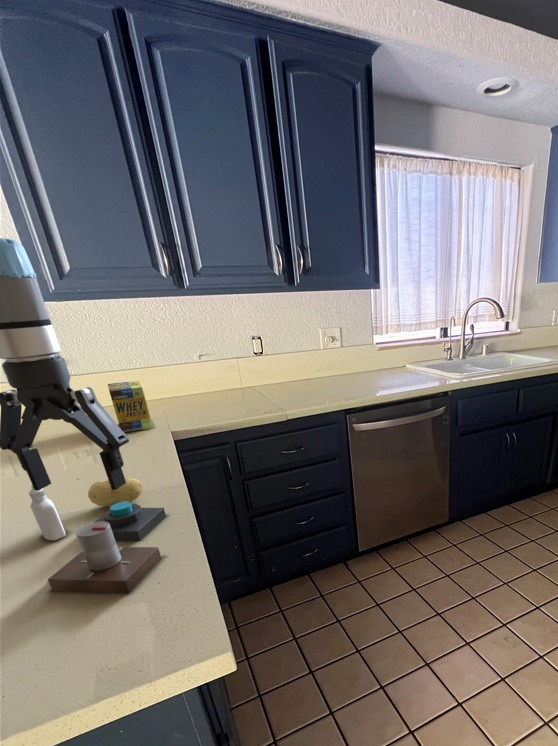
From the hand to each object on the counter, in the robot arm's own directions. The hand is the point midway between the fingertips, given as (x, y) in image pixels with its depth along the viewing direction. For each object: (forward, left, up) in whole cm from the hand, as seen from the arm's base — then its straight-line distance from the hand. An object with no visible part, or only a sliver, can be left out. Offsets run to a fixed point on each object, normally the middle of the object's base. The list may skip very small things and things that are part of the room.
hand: (81, 486), depth 72 cm
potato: (-15, +25, -17) cm, 34 cm away
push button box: (-6, +14, -17) cm, 23 cm away
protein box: (-50, +87, -17) cm, 102 cm away
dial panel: (+1, -2, -17) cm, 17 cm away
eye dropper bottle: (-20, +11, -17) cm, 28 cm away
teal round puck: (-6, +14, -13) cm, 20 cm away
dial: (+1, -2, -14) cm, 14 cm away
